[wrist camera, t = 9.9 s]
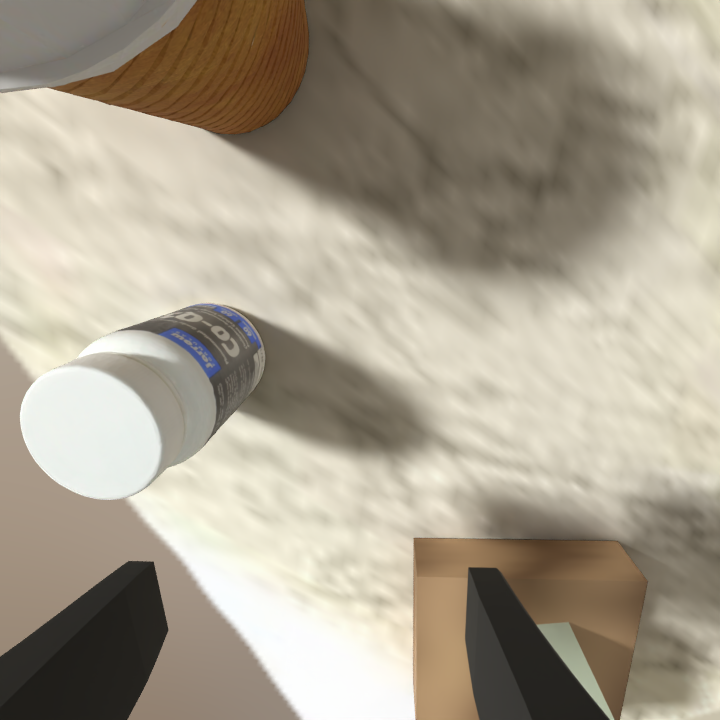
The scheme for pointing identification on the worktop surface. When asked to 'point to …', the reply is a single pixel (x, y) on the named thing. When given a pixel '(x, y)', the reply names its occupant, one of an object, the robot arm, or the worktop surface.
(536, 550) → the walnut base
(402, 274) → the worktop surface
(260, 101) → the disposable coffee cup
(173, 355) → the pill bottle
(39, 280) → the worktop surface
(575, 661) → the sage block
